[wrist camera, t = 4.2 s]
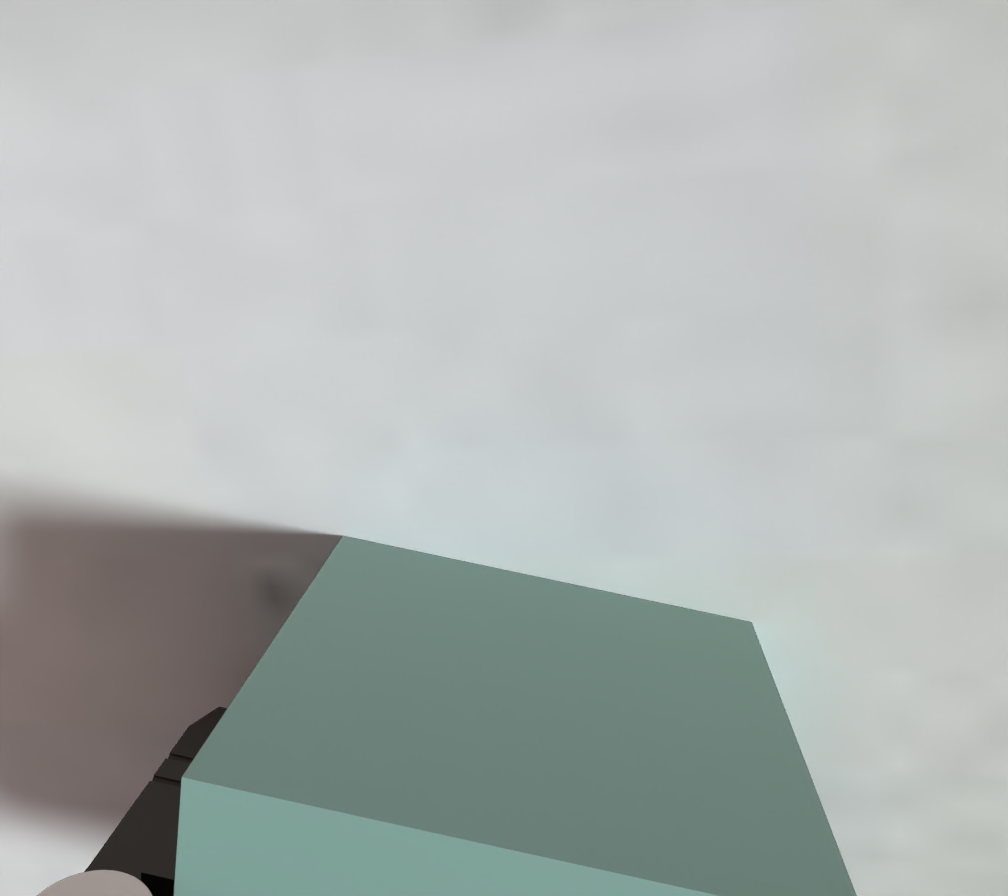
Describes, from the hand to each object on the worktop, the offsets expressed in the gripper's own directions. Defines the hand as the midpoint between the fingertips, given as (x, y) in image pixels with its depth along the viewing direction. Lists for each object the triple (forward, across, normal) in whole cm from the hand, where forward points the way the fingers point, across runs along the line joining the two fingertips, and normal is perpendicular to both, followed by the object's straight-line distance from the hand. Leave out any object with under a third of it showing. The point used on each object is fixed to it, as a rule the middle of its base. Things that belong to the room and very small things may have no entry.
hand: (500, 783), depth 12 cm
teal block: (+1, 0, 0) cm, 1 cm away
